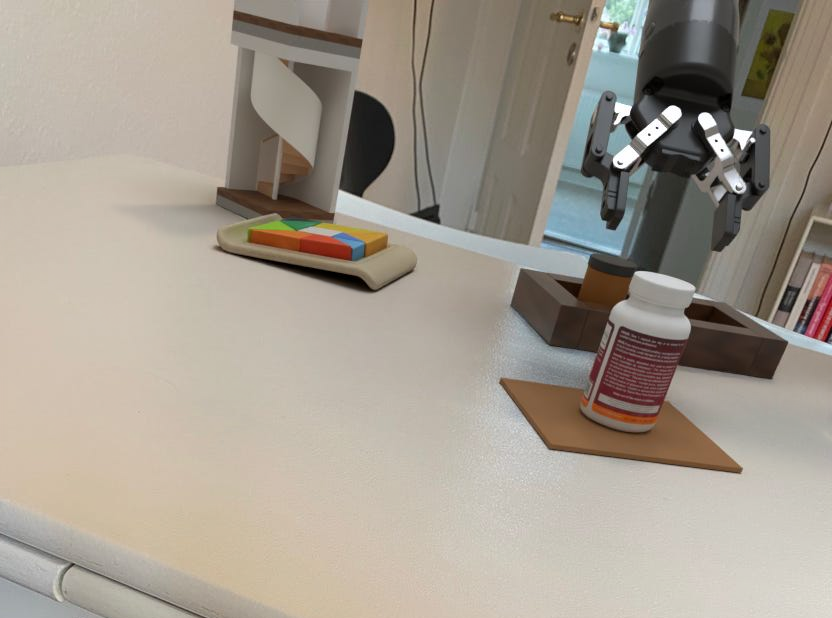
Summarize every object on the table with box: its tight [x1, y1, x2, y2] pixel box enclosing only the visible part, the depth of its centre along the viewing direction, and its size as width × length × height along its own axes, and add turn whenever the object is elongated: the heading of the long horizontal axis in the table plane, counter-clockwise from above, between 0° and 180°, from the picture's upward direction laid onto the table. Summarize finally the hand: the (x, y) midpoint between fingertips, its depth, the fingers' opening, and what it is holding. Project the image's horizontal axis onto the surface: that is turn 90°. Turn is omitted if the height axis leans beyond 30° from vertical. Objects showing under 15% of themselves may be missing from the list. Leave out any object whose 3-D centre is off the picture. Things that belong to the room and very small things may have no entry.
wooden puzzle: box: [216, 213, 418, 291], centre depth 102 cm, size 18×19×4 cm
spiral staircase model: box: [215, 0, 370, 224], centre depth 109 cm, size 11×11×35 cm
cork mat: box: [499, 377, 744, 474], centre depth 74 cm, size 16×14×1 cm
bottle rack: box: [510, 267, 789, 380], centre depth 98 cm, size 26×14×4 cm, turn 97°
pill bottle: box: [581, 270, 697, 433], centre depth 71 cm, size 6×6×11 cm
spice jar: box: [578, 252, 638, 306], centre depth 96 cm, size 5×5×8 cm
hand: (667, 234), depth 70 cm, fingers open, 8 cm apart
